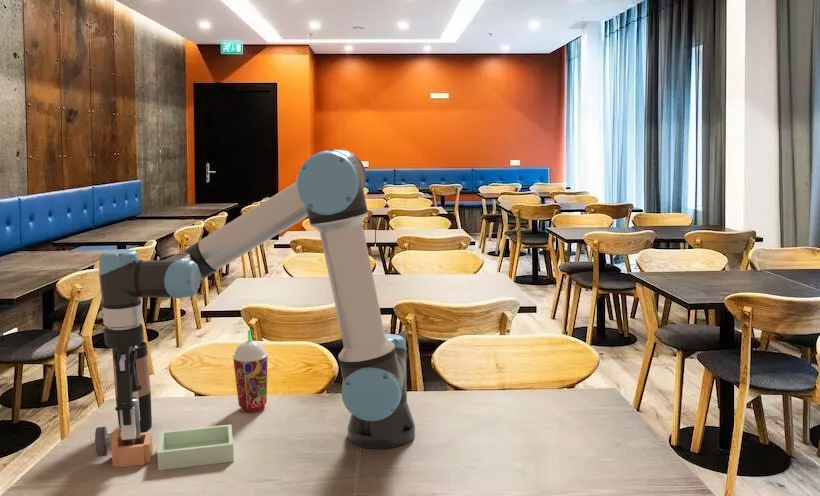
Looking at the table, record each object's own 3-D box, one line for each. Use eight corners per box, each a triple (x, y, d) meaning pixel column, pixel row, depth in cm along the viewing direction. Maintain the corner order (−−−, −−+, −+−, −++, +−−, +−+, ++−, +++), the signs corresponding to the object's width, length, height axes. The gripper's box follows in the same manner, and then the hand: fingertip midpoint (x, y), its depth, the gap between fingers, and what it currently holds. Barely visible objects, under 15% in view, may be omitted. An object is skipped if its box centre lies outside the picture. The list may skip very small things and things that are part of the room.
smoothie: (266, 414, 184) (262, 334, 181) (232, 415, 184) (227, 335, 181) (272, 402, 192) (269, 325, 189) (240, 402, 192) (236, 325, 189)
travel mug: (141, 436, 172) (135, 350, 169) (111, 433, 174) (104, 349, 170) (159, 423, 180) (153, 341, 176) (129, 421, 181) (123, 339, 178)
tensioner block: (153, 449, 165) (150, 416, 164) (150, 463, 158) (148, 429, 157) (101, 455, 162) (98, 421, 161) (96, 470, 155) (93, 435, 154)
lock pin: (143, 453, 163) (138, 395, 161) (141, 461, 159) (137, 401, 157) (125, 456, 162) (120, 397, 160) (123, 463, 158) (118, 403, 156)
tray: (232, 440, 169) (231, 424, 168) (234, 461, 159) (233, 444, 158) (161, 448, 165) (160, 432, 165) (158, 470, 155) (157, 452, 154)
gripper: (110, 314, 165) (118, 413, 169) (96, 340, 145) (105, 452, 148) (146, 311, 167) (153, 409, 171) (138, 337, 147) (146, 448, 150)
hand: (131, 429), depth 160 cm, fingers open, 9 cm apart
